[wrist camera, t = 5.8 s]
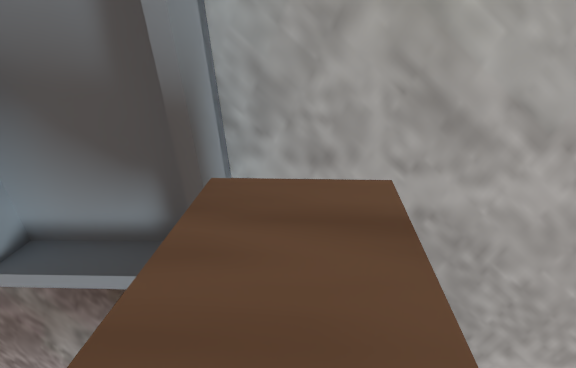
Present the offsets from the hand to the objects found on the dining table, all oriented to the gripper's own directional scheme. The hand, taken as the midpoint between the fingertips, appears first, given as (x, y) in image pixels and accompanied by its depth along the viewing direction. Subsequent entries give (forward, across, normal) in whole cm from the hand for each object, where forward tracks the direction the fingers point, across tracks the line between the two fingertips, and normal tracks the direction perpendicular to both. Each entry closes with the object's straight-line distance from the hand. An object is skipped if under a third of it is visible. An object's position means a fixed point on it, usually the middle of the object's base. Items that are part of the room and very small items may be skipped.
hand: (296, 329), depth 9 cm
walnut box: (+2, 0, 0) cm, 2 cm away
